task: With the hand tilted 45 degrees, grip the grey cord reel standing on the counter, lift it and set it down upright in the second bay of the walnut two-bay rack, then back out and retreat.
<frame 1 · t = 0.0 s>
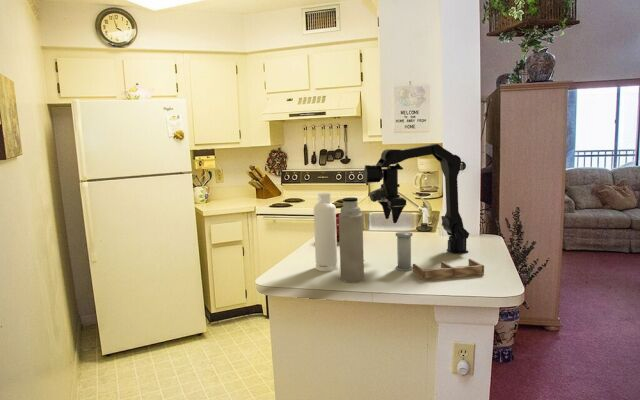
hand: (390, 221, 175), 15 cm above the table, tool pointing down, fingers open, 9 cm apart
thermos bottle: (352, 279, 152), on the table
tube: (327, 248, 196), on the table
rack: (447, 273, 153), on the table
cord reel: (404, 268, 161), on the table
bottle: (326, 268, 165), on the table
plant pot: (344, 239, 210), on the table
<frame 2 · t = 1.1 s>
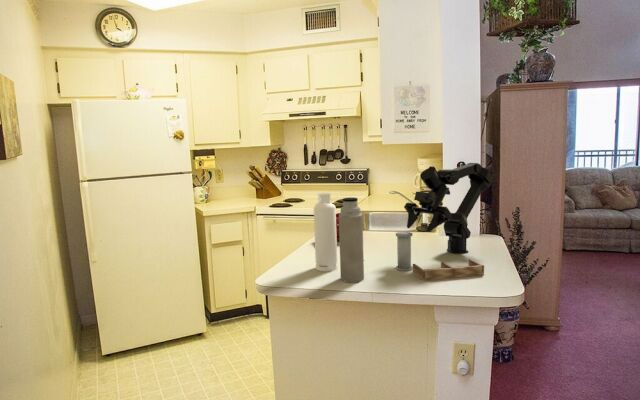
hand: (417, 229, 164), 13 cm above the table, tool tilted 45°, fingers open, 9 cm apart
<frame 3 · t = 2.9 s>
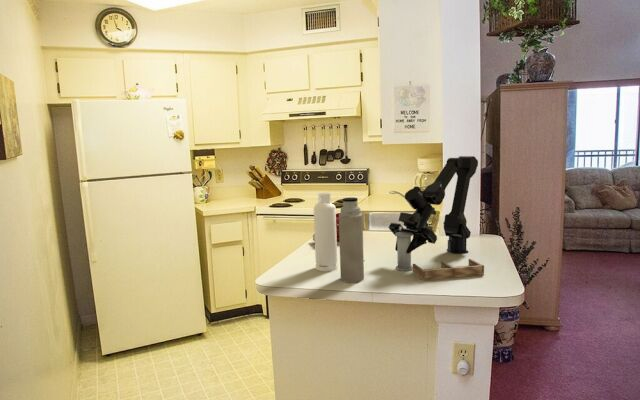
hand: (401, 251, 159), 7 cm above the table, tool tilted 45°, fingers closed on cord reel, 5 cm apart
cord reel: (404, 268, 161), on the table, touching gripper
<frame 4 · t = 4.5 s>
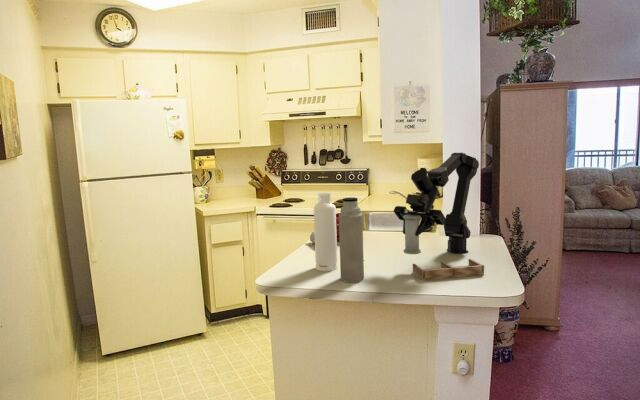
hand: (409, 234, 155), 14 cm above the table, tool tilted 45°, fingers closed on cord reel, 5 cm apart
cord reel: (412, 252, 157), point 7 cm above the table, touching gripper
when the fingers open (9 cm above the table, at t = 6.3 s): cord reel drops 1 cm, resting on rack.
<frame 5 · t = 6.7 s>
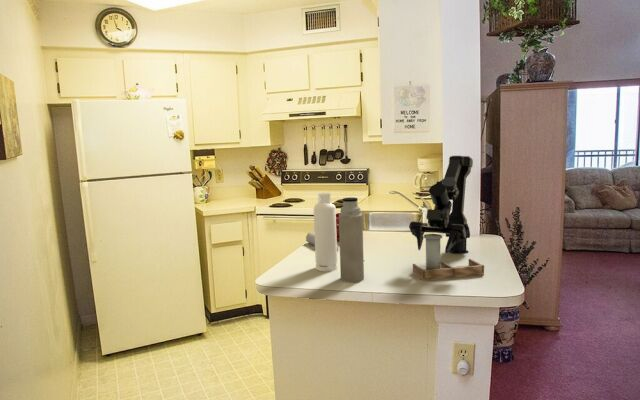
hand: (432, 251, 150), 9 cm above the table, tool tilted 45°, fingers open, 9 cm apart
cord reel: (433, 272, 152), point 1 cm above the table, touching rack
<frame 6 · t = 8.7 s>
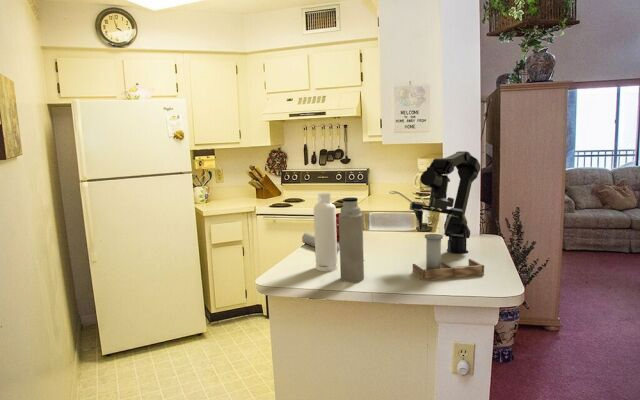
hand: (432, 232, 163), 12 cm above the table, tool tilted 20°, fingers open, 9 cm apart
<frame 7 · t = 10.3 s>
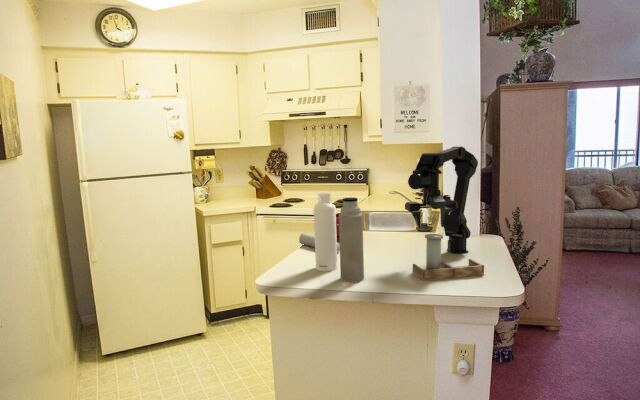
hand: (430, 227, 167), 13 cm above the table, tool pointing down, fingers open, 9 cm apart
at the end: cord reel inside the target area on the rack (0.1 cm from its centre), point 0.9 cm above the rack's base; cord reel tilted 1°; the gripper is holding nothing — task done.
